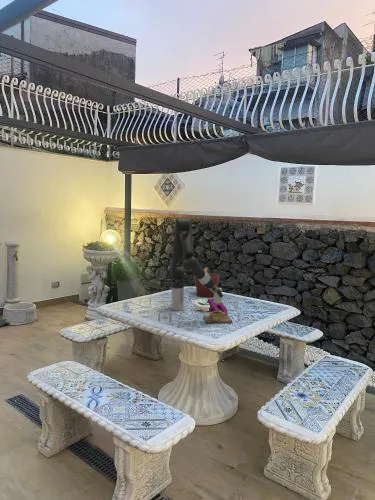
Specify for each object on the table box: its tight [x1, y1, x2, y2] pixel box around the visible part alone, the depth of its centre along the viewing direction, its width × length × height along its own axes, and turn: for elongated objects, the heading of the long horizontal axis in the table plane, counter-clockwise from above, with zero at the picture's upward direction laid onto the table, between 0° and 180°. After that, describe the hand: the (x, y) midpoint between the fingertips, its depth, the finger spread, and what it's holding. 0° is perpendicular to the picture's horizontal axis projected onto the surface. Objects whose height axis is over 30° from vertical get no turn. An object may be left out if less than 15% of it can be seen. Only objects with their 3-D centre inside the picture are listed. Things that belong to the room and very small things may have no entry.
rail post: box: [213, 287, 223, 303], centre depth 259 cm, size 4×4×10 cm
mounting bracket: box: [206, 297, 228, 315], centre depth 280 cm, size 9×8×18 cm
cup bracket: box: [202, 310, 233, 325], centre depth 260 cm, size 14×18×6 cm
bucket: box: [193, 267, 221, 299], centre depth 332 cm, size 24×22×25 cm
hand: (220, 295), depth 260 cm, fingers closed on rail post, 4 cm apart
